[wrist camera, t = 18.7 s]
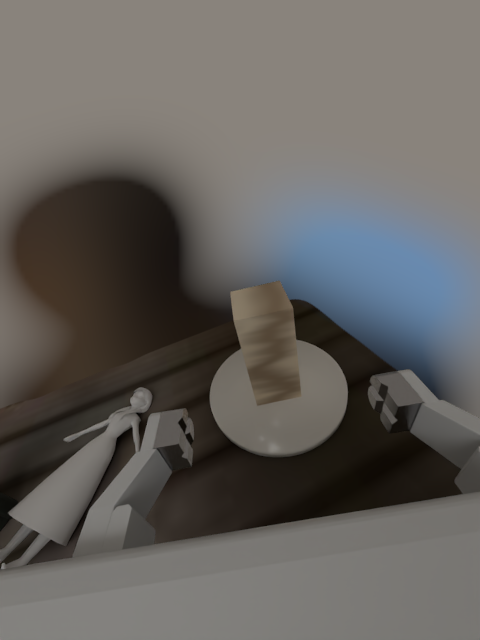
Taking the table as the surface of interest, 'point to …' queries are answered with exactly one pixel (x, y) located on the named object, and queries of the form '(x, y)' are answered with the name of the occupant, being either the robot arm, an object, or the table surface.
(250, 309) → the maple block
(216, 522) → the table surface
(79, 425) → the table surface
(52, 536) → the woman figurine
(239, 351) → the plate
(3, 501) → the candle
